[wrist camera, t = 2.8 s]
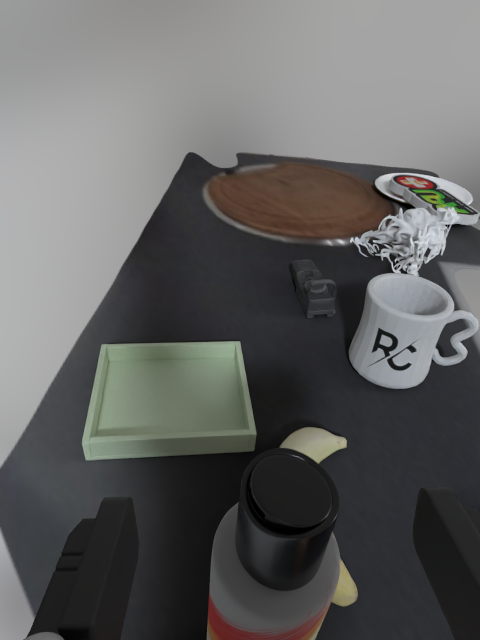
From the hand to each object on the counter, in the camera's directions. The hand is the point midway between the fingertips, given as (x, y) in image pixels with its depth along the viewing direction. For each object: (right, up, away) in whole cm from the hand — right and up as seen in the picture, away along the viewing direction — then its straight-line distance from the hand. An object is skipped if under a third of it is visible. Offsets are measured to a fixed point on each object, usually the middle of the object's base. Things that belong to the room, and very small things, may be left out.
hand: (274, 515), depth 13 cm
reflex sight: (+9, +9, +51) cm, 53 cm away
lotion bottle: (0, -17, +16) cm, 23 cm away
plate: (+39, +33, +87) cm, 101 cm away
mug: (+18, 0, +40) cm, 44 cm away
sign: (+42, +30, +79) cm, 95 cm away
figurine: (+25, +24, +55) cm, 65 cm away
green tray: (-8, -3, +34) cm, 35 cm away
